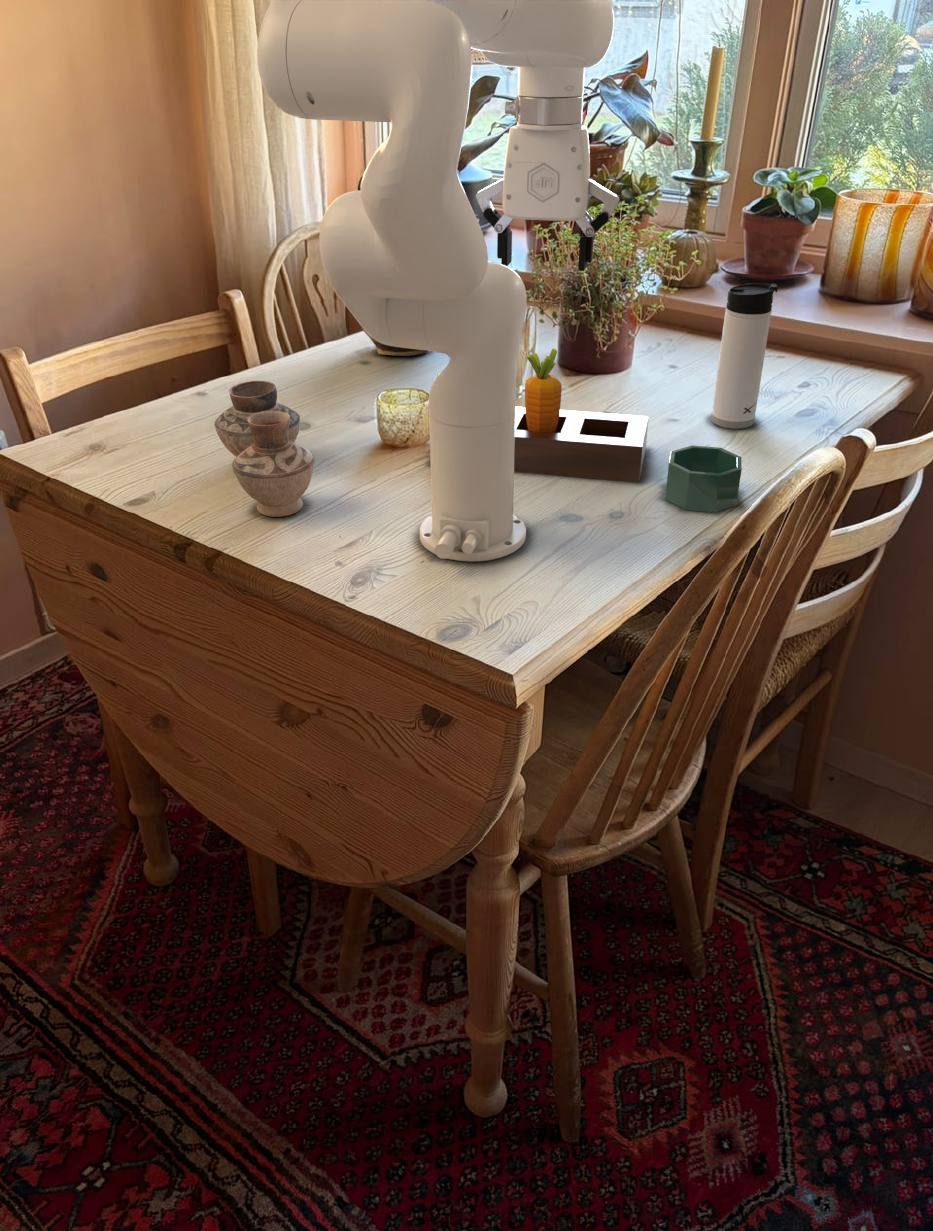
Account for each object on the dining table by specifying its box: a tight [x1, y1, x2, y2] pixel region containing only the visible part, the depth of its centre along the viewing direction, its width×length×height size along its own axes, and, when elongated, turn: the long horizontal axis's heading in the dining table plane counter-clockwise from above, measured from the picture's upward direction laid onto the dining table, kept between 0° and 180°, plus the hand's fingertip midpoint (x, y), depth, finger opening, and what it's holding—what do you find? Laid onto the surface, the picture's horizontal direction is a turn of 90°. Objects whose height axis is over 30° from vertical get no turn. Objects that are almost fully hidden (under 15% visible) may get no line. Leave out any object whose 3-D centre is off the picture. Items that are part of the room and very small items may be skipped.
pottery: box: [214, 380, 315, 518], centre depth 127 cm, size 11×25×12 cm, turn 19°
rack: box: [514, 406, 650, 483], centre depth 135 cm, size 11×28×5 cm, turn 77°
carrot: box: [524, 347, 563, 433], centre depth 133 cm, size 5×5×15 cm
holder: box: [664, 444, 743, 513], centre depth 125 cm, size 9×9×5 cm
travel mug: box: [710, 282, 779, 430], centre depth 142 cm, size 6×7×20 cm
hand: (544, 266), depth 123 cm, fingers open, 9 cm apart
